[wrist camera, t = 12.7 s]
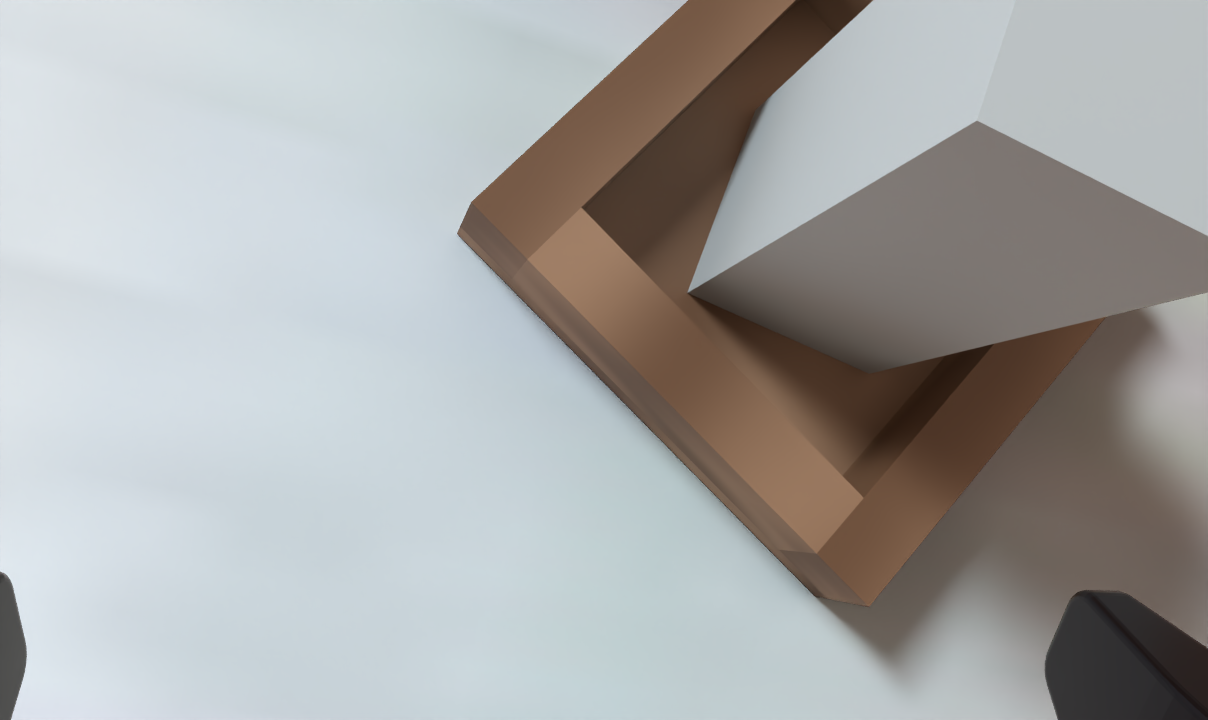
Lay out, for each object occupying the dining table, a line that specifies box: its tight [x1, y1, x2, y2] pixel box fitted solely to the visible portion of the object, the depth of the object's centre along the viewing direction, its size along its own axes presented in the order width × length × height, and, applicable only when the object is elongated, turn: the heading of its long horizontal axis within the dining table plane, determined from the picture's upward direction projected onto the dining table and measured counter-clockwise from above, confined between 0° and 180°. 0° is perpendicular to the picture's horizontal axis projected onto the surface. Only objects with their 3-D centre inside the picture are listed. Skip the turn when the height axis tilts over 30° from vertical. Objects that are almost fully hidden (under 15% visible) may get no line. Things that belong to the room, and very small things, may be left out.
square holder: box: [457, 0, 1105, 607], centre depth 24 cm, size 11×11×2 cm
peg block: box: [687, 0, 1208, 374], centre depth 19 cm, size 4×4×11 cm
